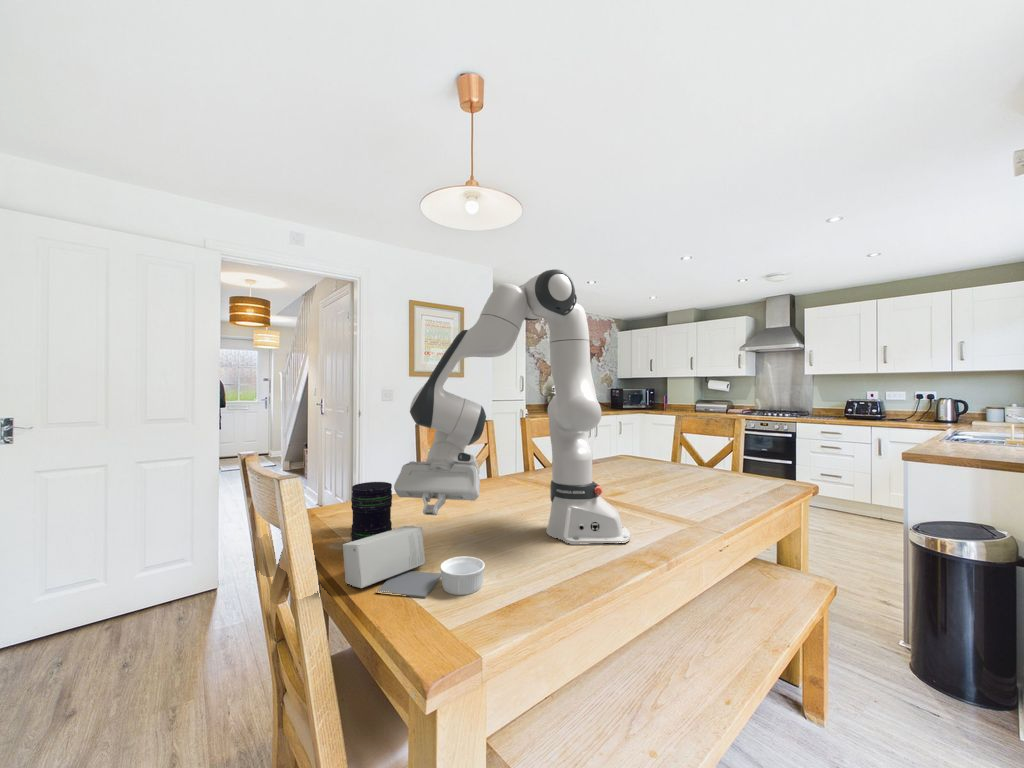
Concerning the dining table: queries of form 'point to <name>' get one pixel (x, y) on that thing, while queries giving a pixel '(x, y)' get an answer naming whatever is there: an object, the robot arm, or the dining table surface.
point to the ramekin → (462, 575)
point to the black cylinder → (371, 509)
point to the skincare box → (383, 555)
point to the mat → (411, 583)
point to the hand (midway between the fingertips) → (429, 513)
